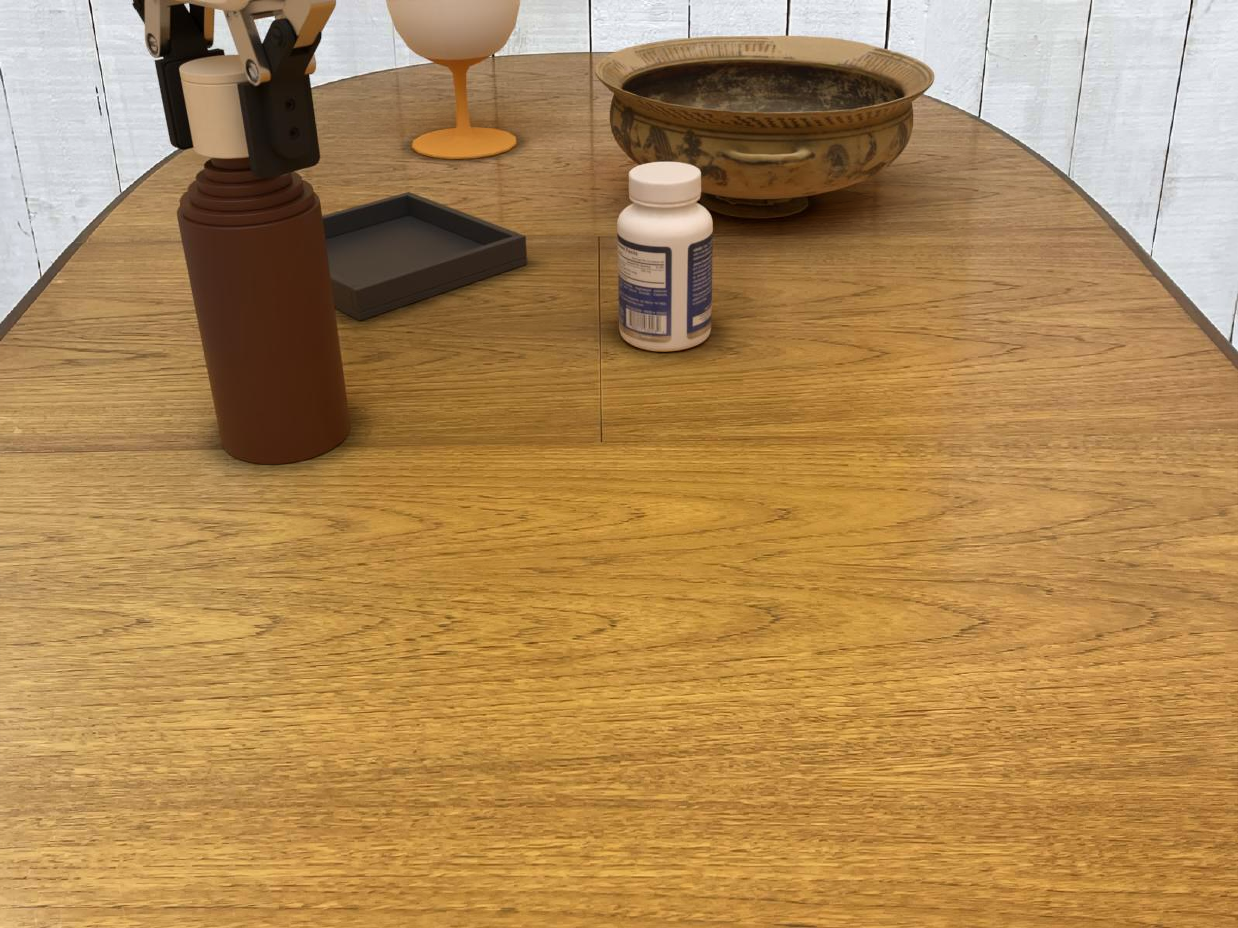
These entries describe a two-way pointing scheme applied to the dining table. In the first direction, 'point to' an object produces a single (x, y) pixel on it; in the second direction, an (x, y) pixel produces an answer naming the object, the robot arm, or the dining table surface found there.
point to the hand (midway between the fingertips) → (244, 152)
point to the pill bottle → (665, 259)
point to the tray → (411, 252)
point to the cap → (215, 106)
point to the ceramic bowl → (764, 114)
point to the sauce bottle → (265, 312)
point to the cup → (457, 62)
